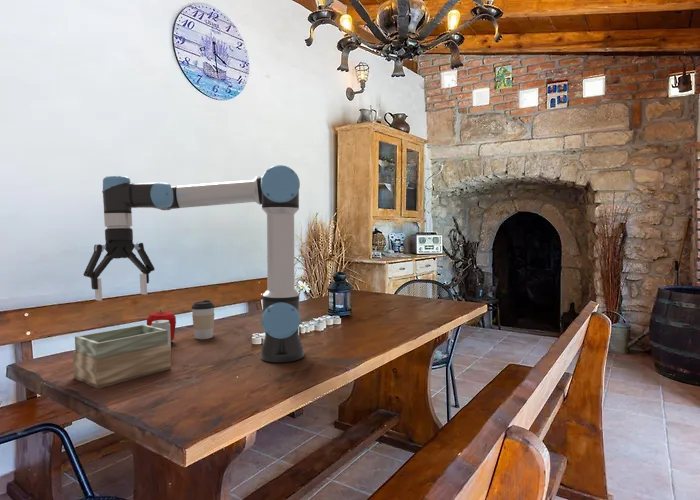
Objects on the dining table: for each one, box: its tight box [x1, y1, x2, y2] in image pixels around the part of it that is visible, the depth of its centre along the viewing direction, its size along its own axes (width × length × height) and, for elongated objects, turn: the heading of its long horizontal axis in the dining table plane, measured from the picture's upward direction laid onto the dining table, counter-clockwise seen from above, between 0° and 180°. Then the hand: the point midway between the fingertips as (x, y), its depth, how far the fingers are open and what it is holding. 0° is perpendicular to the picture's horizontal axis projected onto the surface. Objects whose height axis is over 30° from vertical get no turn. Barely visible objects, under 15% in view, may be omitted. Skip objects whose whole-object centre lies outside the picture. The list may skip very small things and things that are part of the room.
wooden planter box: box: [72, 324, 172, 390], centre depth 138 cm, size 16×22×12 cm
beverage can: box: [151, 320, 172, 352], centre depth 159 cm, size 6×6×12 cm
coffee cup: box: [191, 299, 215, 340], centre depth 183 cm, size 9×9×15 cm
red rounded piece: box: [146, 309, 177, 342], centre depth 173 cm, size 11×10×14 cm
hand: (122, 297), depth 137 cm, fingers open, 13 cm apart
